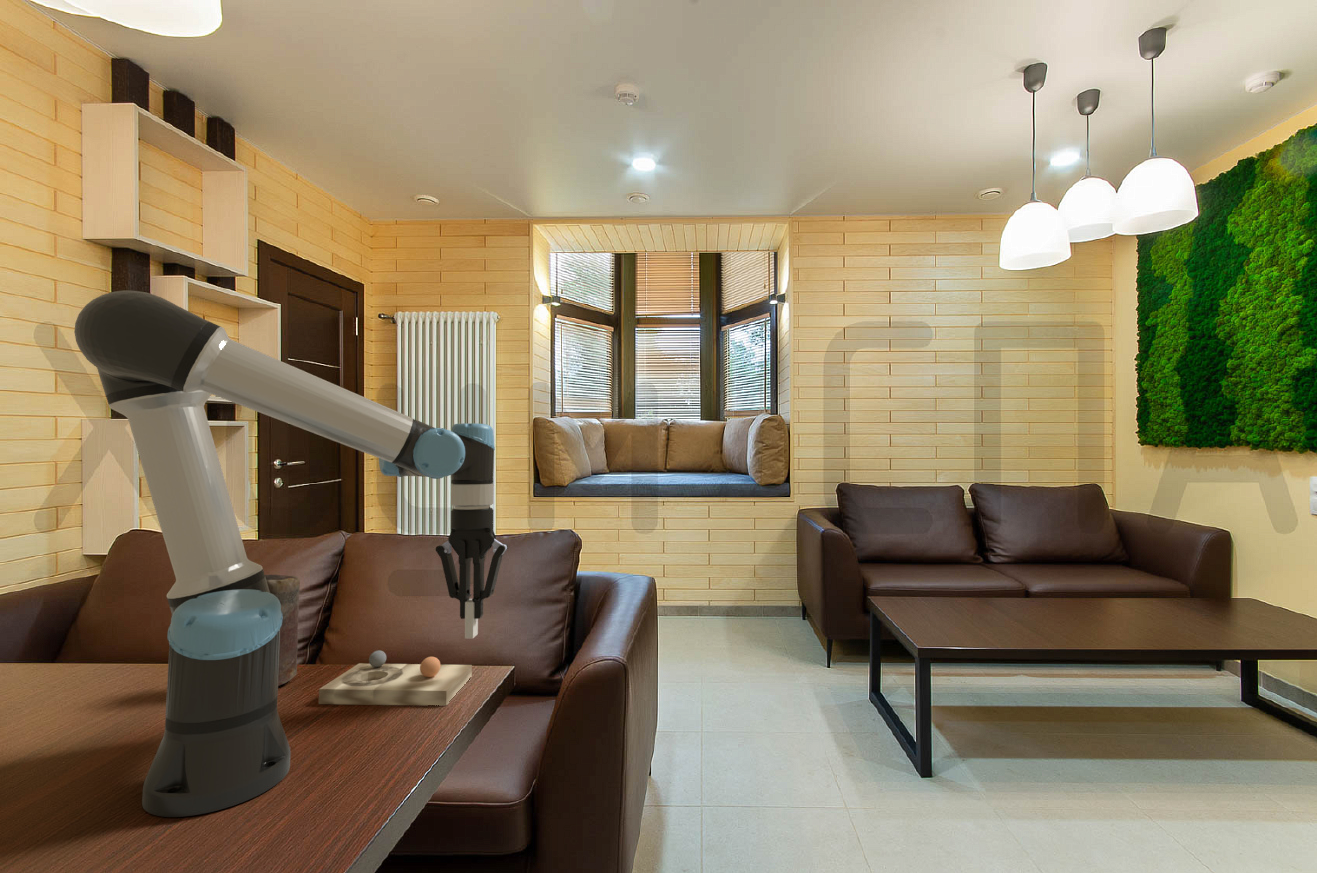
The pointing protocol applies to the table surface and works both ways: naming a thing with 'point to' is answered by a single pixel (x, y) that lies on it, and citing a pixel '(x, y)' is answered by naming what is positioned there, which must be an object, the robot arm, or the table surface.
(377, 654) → the grey ball
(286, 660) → the candle
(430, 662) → the orange ball
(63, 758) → the table surface
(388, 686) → the board
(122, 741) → the table surface
